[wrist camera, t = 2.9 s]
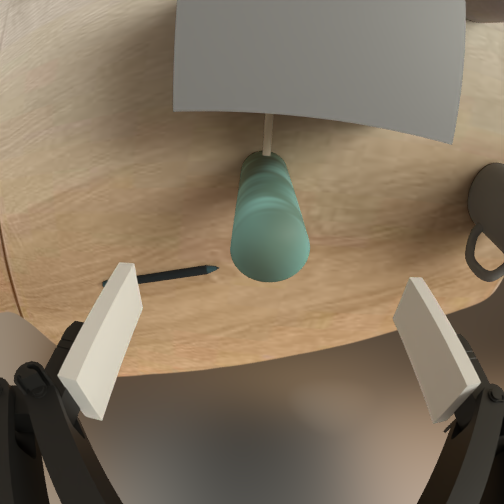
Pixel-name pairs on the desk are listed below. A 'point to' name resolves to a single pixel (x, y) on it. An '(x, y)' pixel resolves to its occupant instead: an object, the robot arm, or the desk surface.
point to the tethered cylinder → (268, 218)
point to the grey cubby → (325, 60)
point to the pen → (174, 274)
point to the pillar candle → (485, 11)
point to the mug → (486, 216)
